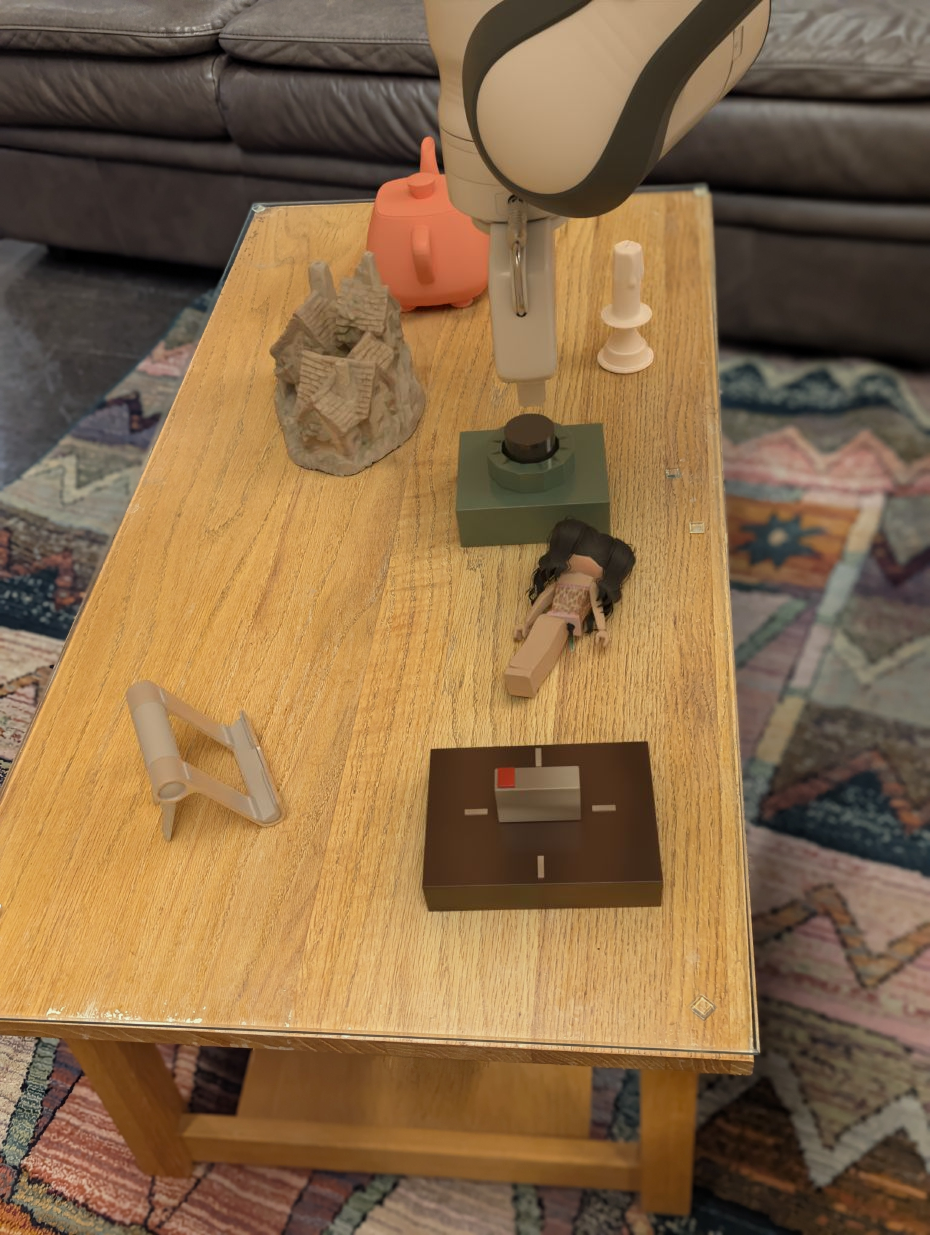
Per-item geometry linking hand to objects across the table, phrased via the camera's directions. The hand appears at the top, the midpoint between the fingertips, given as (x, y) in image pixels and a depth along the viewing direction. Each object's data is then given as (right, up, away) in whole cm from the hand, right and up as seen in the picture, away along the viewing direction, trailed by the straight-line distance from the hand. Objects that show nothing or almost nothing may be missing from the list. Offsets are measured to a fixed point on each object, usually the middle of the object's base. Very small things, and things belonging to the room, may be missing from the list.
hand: (533, 359), depth 74 cm
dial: (0, -30, -8) cm, 31 cm away
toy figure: (+3, -18, +6) cm, 20 cm away
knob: (+1, -4, +12) cm, 13 cm away
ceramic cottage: (-16, +1, +27) cm, 32 cm away
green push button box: (+1, -8, +16) cm, 18 cm away
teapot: (-8, +18, +42) cm, 46 cm away
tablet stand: (-22, -30, -1) cm, 37 cm away
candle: (+11, +7, +29) cm, 32 cm away
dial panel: (0, -32, -6) cm, 32 cm away
